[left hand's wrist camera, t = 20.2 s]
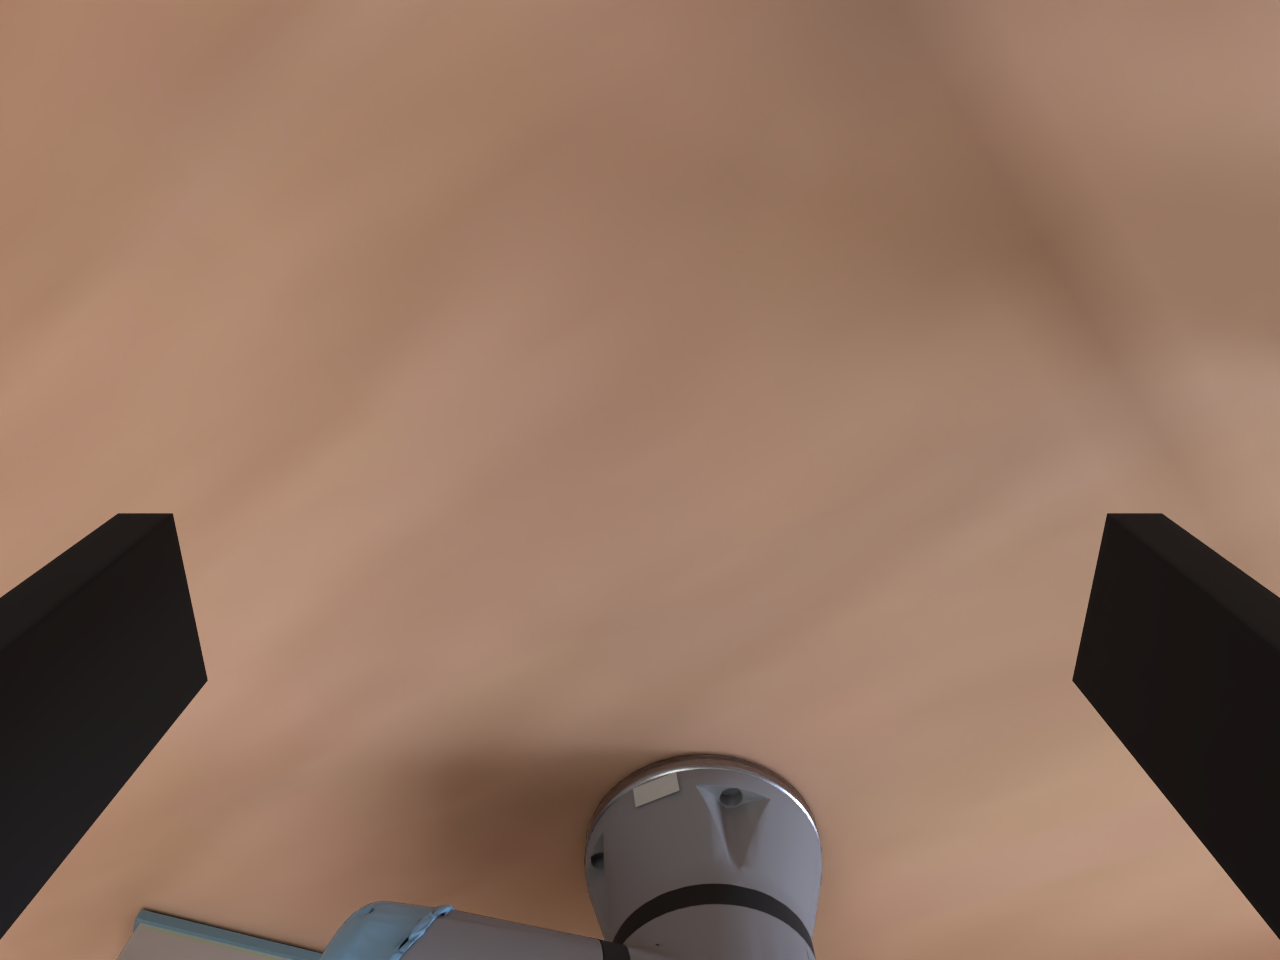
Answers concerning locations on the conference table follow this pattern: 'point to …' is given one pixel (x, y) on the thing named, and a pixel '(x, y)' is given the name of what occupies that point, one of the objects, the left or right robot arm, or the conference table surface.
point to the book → (200, 942)
